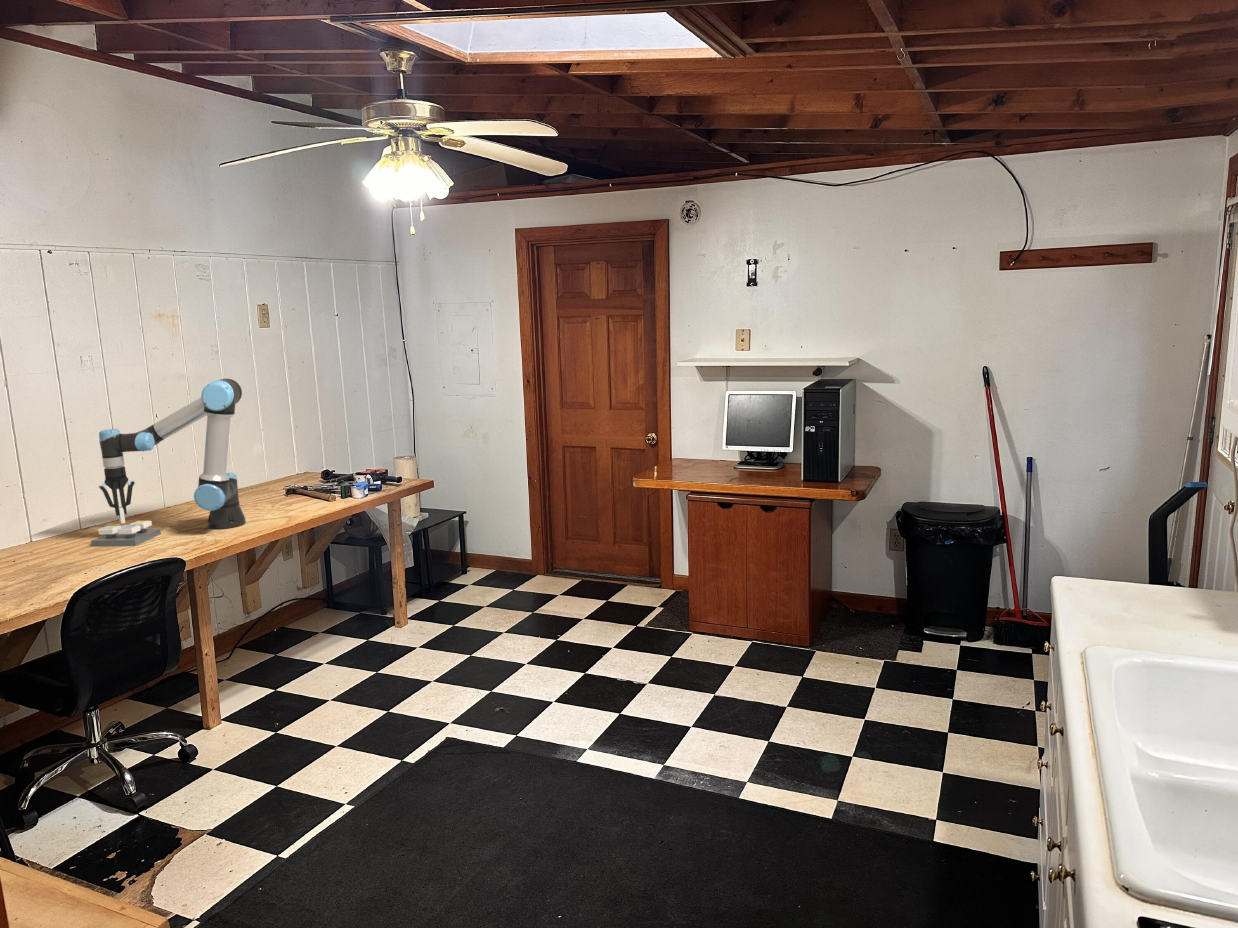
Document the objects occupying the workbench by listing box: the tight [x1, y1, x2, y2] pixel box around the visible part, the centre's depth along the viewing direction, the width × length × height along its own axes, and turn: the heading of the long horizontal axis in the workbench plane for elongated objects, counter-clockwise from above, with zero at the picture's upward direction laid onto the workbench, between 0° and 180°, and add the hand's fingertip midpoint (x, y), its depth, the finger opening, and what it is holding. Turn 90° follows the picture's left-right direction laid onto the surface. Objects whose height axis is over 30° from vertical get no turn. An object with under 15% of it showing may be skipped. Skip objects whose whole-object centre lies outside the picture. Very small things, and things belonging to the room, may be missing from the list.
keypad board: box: [90, 528, 162, 547], centre depth 354 cm, size 18×18×2 cm
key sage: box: [97, 525, 121, 538], centre depth 350 cm, size 6×6×4 cm
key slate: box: [118, 526, 141, 538], centre depth 349 cm, size 6×6×4 cm
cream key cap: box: [129, 520, 153, 533], centre depth 357 cm, size 6×6×4 cm
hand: (122, 522), depth 357 cm, fingers closed
